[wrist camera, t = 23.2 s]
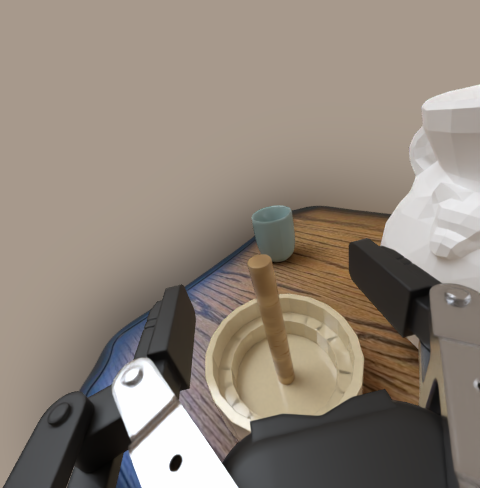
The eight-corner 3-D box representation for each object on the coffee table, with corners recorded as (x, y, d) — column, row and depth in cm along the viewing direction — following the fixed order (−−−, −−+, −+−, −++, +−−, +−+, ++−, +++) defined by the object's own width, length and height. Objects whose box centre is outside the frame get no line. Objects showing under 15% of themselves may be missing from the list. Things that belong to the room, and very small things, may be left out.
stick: (283, 388, 25) (254, 271, 18) (273, 373, 27) (243, 260, 19) (298, 378, 26) (276, 260, 18) (288, 364, 27) (263, 251, 20)
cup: (289, 269, 44) (281, 223, 39) (254, 264, 49) (243, 221, 44) (302, 248, 49) (297, 205, 45) (270, 245, 54) (262, 205, 49)
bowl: (262, 519, 18) (245, 492, 15) (204, 363, 31) (189, 333, 28) (399, 402, 22) (406, 364, 19) (297, 308, 35) (292, 278, 33)
